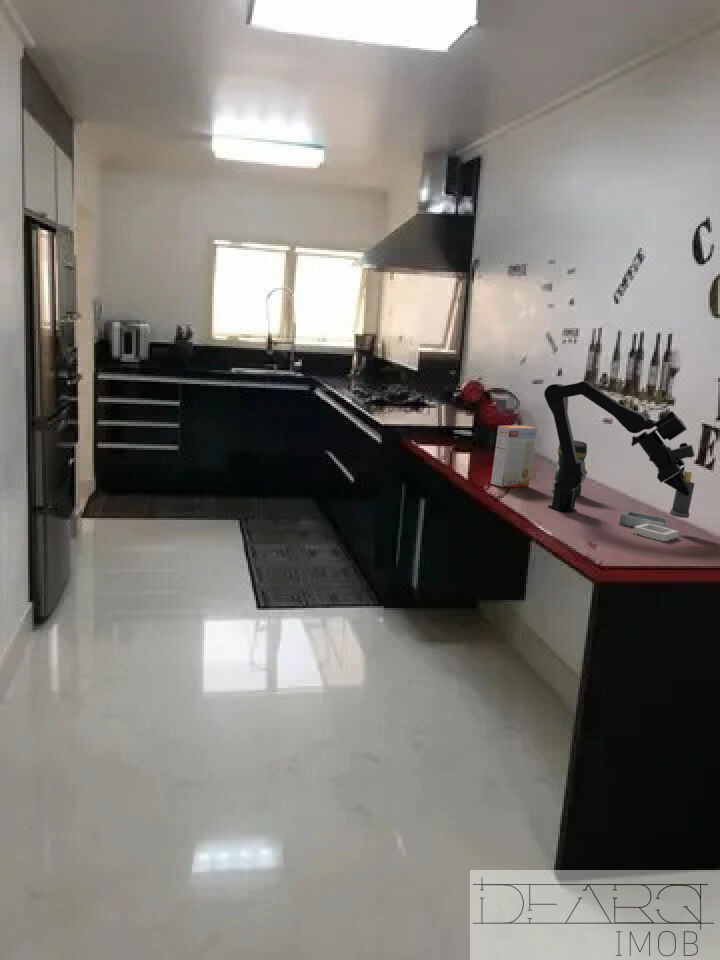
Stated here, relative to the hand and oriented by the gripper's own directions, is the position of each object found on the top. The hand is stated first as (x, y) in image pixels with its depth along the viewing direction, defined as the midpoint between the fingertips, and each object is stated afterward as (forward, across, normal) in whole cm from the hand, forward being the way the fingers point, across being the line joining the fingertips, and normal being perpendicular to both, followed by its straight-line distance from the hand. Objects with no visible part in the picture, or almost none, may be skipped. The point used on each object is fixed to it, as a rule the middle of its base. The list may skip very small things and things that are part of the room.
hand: (688, 493), depth 231 cm
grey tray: (+1, 0, +16) cm, 16 cm away
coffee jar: (-19, +28, +37) cm, 50 cm away
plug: (+4, 0, +6) cm, 7 cm away
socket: (+4, -10, +13) cm, 17 cm away
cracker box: (-32, +23, +50) cm, 64 cm away
